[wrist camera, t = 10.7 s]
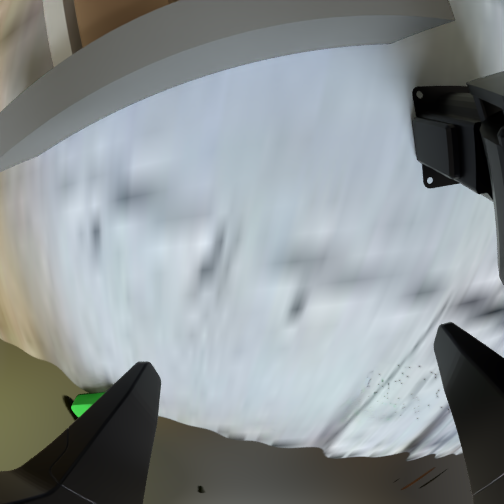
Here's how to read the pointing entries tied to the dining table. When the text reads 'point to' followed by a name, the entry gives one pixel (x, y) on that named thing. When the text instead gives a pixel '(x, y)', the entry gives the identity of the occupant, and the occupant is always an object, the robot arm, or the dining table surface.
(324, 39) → the slab with two fins
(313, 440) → the dining table surface
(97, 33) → the rail
